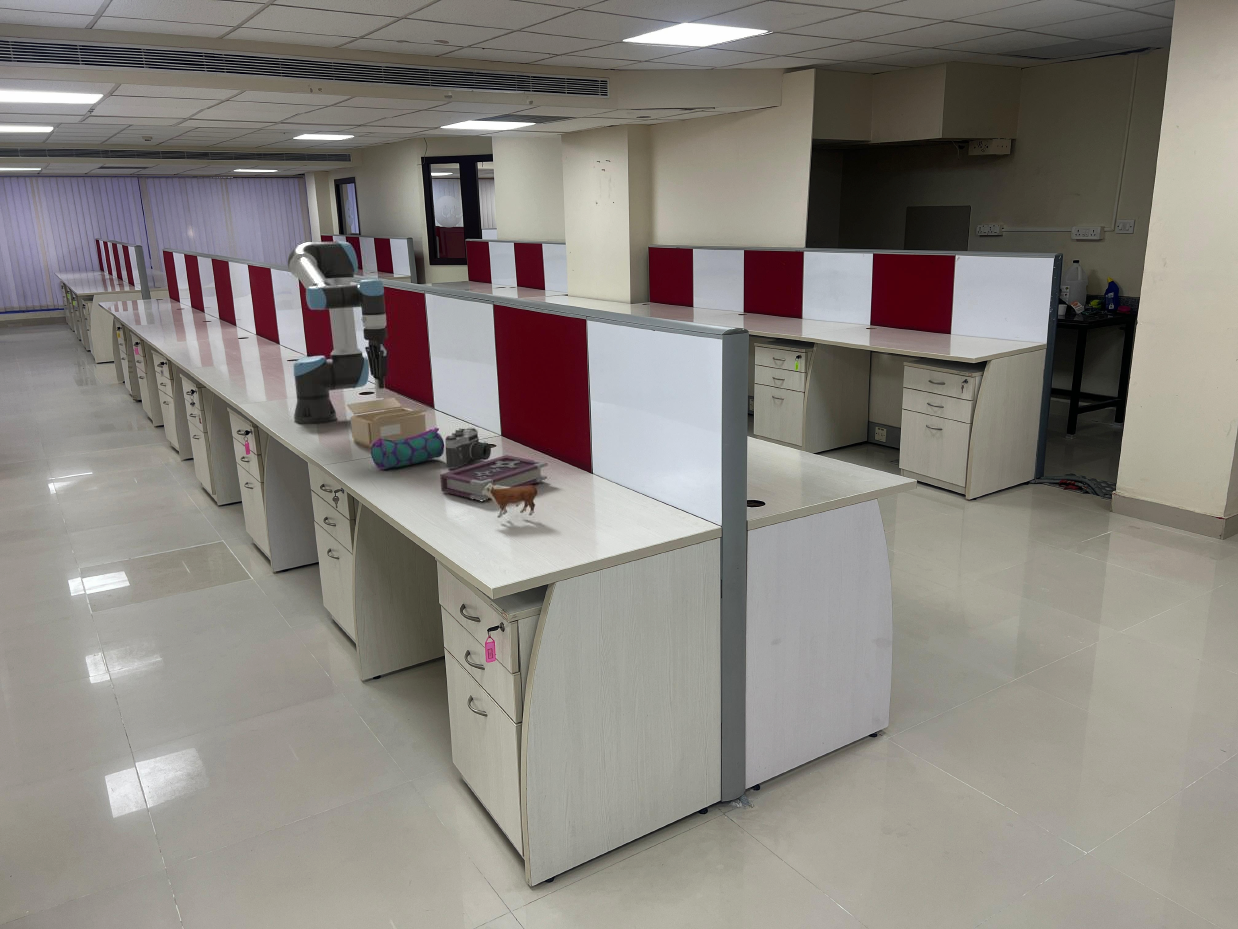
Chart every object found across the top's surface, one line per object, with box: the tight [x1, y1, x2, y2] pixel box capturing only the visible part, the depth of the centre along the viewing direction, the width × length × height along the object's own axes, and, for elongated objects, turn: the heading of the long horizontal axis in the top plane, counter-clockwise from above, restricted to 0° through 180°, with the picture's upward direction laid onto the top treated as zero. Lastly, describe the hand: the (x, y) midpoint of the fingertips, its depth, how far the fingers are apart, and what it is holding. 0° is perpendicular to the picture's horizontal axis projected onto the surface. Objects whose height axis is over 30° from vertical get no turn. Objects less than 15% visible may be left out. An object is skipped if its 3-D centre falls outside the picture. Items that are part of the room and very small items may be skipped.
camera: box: [444, 426, 492, 469], centre depth 268 cm, size 16×10×10 cm, turn 160°
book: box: [439, 454, 549, 501], centre depth 245 cm, size 25×16×5 cm, turn 142°
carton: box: [350, 407, 427, 450], centre depth 297 cm, size 15×21×9 cm
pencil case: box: [370, 427, 445, 471], centre depth 268 cm, size 21×9×10 cm, turn 134°
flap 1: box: [346, 397, 403, 416], centre depth 303 cm, size 1×17×6 cm
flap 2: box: [373, 407, 430, 421], centre depth 288 cm, size 1×17×6 cm
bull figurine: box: [482, 483, 538, 519], centre depth 217 cm, size 4×13×8 cm, turn 95°
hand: (380, 397), depth 298 cm, fingers closed
